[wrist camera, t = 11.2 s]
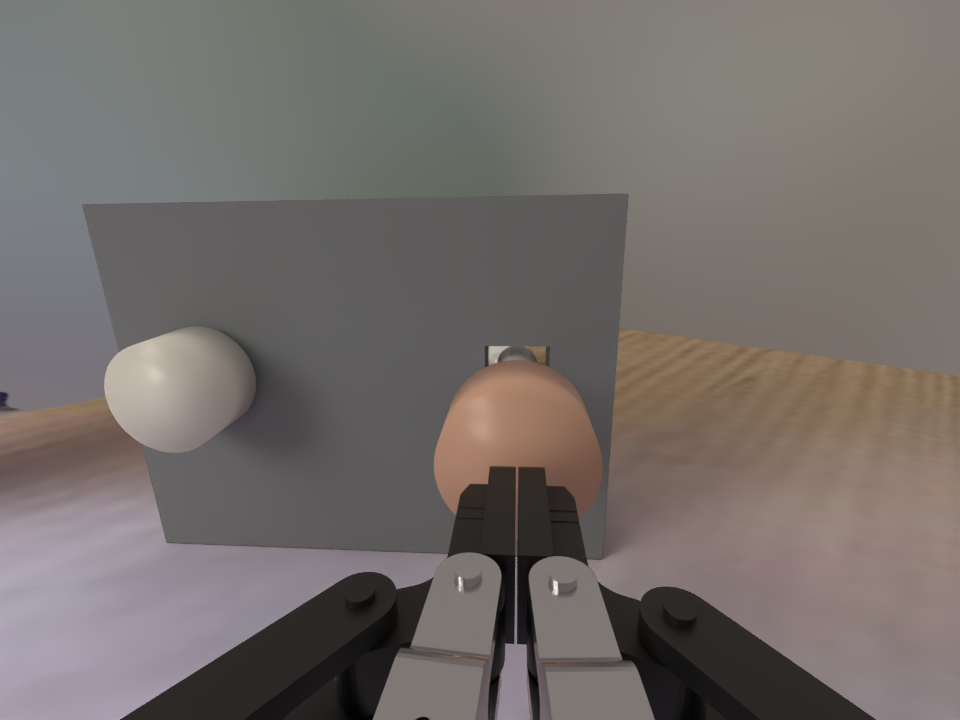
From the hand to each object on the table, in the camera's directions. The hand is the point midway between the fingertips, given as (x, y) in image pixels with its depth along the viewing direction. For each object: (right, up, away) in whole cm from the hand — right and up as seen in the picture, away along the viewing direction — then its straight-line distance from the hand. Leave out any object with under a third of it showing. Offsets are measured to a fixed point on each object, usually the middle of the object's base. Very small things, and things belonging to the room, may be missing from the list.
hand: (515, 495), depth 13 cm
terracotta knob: (+1, 0, +7) cm, 7 cm away
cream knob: (-14, +1, +13) cm, 19 cm away
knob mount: (-6, -5, +17) cm, 19 cm away
